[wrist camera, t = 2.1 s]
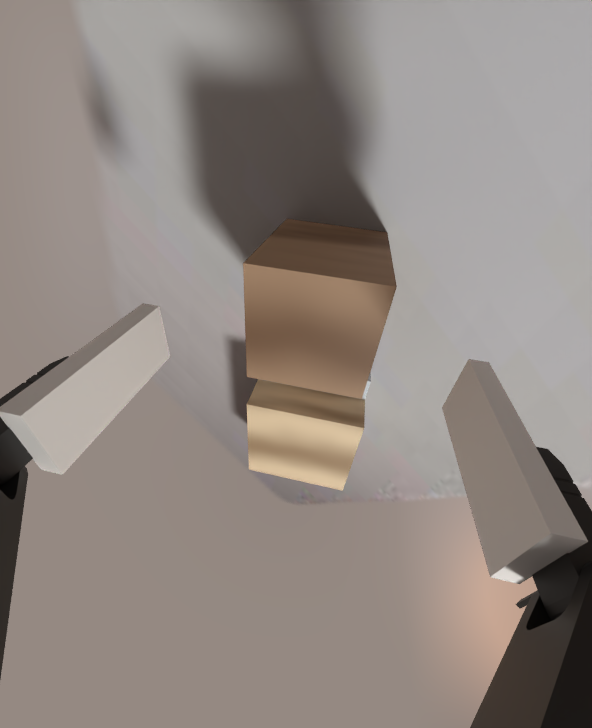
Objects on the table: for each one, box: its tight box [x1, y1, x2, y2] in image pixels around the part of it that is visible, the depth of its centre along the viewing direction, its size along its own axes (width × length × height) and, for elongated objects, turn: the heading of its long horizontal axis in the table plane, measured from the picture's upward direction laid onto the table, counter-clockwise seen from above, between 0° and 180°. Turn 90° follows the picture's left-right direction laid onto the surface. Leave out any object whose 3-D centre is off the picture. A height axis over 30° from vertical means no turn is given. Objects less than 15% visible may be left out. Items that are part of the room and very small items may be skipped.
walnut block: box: [243, 219, 397, 399], centre depth 16 cm, size 6×6×8 cm
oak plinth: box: [247, 379, 365, 491], centre depth 26 cm, size 9×9×3 cm
